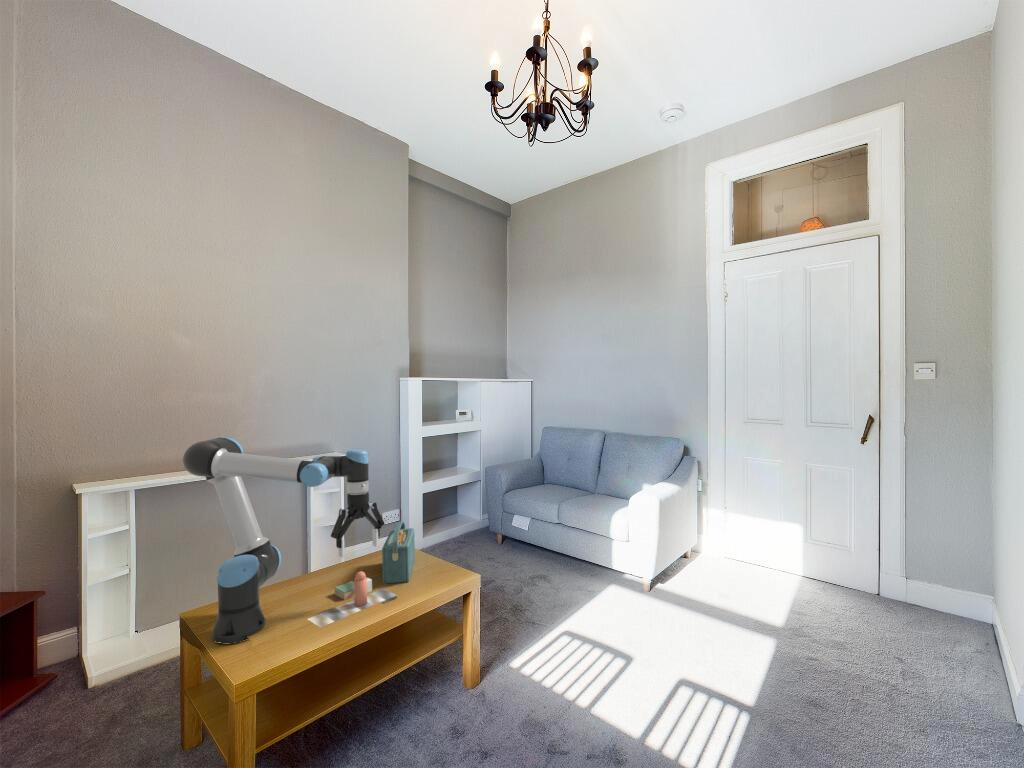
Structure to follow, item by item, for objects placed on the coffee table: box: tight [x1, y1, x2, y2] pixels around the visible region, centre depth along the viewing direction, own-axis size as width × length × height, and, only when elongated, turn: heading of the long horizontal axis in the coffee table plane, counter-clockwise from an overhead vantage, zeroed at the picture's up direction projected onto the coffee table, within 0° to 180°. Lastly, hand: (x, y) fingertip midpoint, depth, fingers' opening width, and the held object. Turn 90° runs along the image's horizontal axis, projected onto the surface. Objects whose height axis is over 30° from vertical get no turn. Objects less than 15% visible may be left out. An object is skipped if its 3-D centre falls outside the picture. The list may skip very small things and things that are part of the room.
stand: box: [334, 581, 355, 601], centre depth 177 cm, size 7×7×4 cm
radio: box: [381, 521, 416, 585], centre depth 201 cm, size 26×11×20 cm, turn 6°
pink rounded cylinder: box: [353, 571, 368, 607], centre depth 169 cm, size 4×4×12 cm
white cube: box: [367, 577, 373, 594], centre depth 182 cm, size 4×4×4 cm
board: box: [307, 588, 398, 628], centre depth 167 cm, size 30×9×1 cm, turn 139°
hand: (359, 551), depth 169 cm, fingers open, 13 cm apart
